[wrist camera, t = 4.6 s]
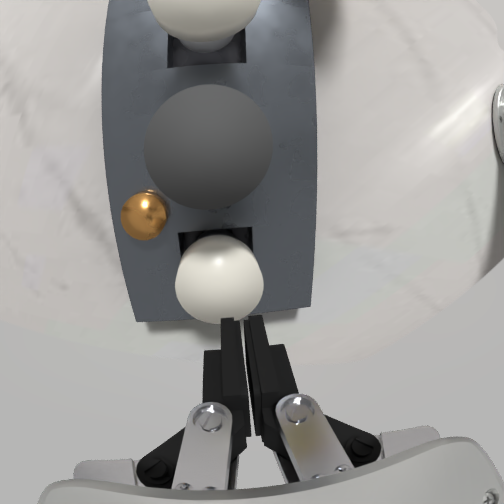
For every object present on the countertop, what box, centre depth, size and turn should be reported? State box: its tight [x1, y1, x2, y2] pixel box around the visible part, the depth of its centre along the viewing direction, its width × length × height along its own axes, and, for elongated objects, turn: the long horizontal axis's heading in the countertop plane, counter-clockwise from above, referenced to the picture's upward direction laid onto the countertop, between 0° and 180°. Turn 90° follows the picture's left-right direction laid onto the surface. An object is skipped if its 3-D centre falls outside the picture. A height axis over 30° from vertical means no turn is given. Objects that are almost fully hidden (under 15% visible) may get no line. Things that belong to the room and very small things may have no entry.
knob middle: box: [144, 85, 273, 210], centre depth 13 cm, size 5×5×6 cm
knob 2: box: [175, 229, 264, 324], centre depth 19 cm, size 5×5×6 cm
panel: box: [102, 0, 317, 322], centre depth 17 cm, size 25×14×4 cm, turn 2°
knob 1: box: [147, 0, 261, 53], centre depth 10 cm, size 5×5×6 cm
